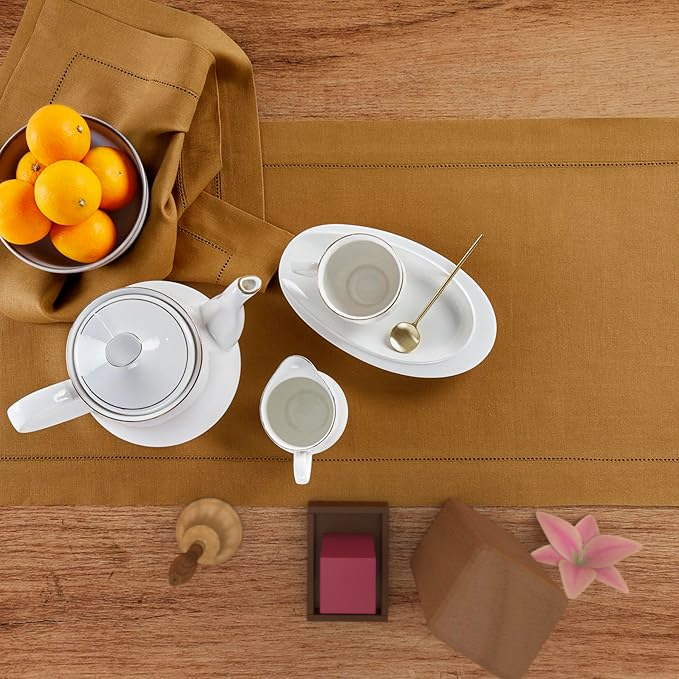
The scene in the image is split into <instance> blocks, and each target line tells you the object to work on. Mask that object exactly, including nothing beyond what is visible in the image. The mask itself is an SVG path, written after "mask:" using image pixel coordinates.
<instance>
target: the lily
mask: <svg viewBox="0 0 679 679" xmlns="http://www.w3.org/2000/svg"><path fill="white" fill-rule="evenodd" d="M535 517H536V520H537V522H538V523H539V526H540V527H541V529H542V531H543V532H544V534H545V536H546V539H547V540H548V541H549V543H548V544H546V545H543V546H541V547H539V548H537V549H534V550H533V551H532V552H529V553H530V554H531V555H532V556H533V557H534V559H535V560H536V561H537V562H538V563H539V564H540V563H541V564H544V565H549V566H553V567H558V570H559V575H560V579H561V582H562V586H563V591H564V593H565V595H566V596H567V598H568V600H574V599H576V598H578V596H581V594H582V593H583V592H584V591H585V590H587V588H588V587H589V586H590V585H591V584H592V583H593V582H594V581H595V580H596V581H598V582H600V583H602V584H604V585H606V586H607V587H611V588H613V589H615V590H617V591H618V592H621V593H624V594H629V593H630V590H629V588H628V585H627V583H626V582H625V579H624V578H623V576H622V574H621V573H620V571H619V570H618V569H617V568H616V566H614V565H615V564H617V563H619V562H621V561H623V560H625V559H626V558H628V557H630V556H632V555H634V554H636V553H637V552H639V551H641V550H642V549H643V548H644V545H643V544H642V543H641V542H639V541H637V540H633V539H630V538H627V537H624V536H623V537H622V536H619V535H614V534H613V535H612V534H600V529H599V526H598V522H597V520H596V519H595V517H594V515H593V514H591V513H590V514H587V515H585V516H584V517H582V518H581V519H580V520H579V521H578V522H577V523H576V524H575V526H574V525H573V524H571V523H570V522H569V521H567V520H565V519H564V518H561V517H558V516H556V515H553V514H550V513H547V512H545V511H540V510H537V511H535Z"/></svg>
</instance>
